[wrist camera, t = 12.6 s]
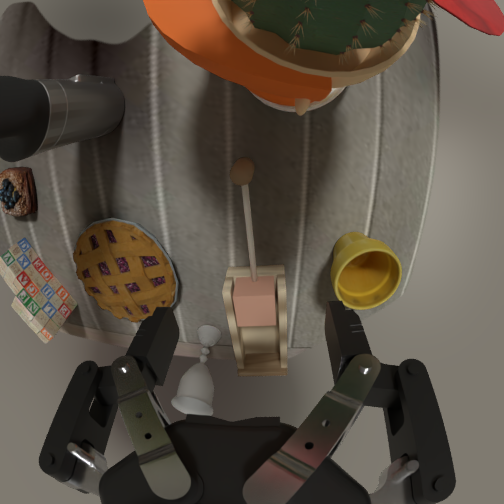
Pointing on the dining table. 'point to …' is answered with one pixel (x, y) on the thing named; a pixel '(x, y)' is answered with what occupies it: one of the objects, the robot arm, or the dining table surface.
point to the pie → (125, 269)
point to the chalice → (198, 379)
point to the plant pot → (364, 271)
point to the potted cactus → (303, 41)
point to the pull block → (251, 265)
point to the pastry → (18, 191)
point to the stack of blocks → (35, 291)
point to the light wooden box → (259, 327)
